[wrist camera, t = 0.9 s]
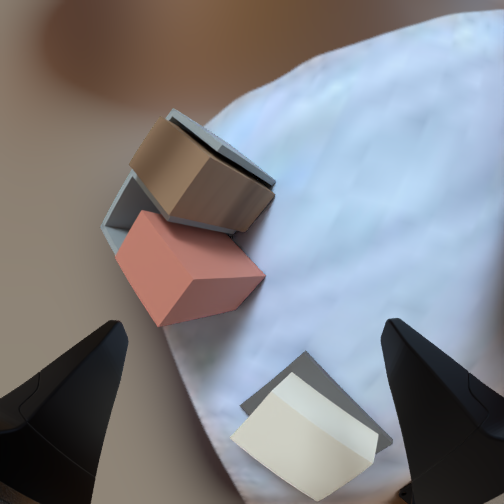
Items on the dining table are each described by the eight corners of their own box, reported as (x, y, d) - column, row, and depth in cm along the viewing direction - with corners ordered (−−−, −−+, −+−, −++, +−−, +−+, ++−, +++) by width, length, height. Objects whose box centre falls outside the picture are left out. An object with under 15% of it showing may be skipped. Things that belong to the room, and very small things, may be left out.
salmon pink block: (265, 275, 22) (193, 279, 14) (235, 309, 24) (158, 327, 16) (220, 227, 25) (141, 210, 17) (194, 260, 26) (114, 257, 18)
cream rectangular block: (378, 434, 17) (373, 463, 13) (330, 473, 18) (317, 501, 14) (291, 371, 20) (271, 391, 17) (253, 417, 22) (229, 437, 18)
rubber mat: (392, 439, 17) (392, 443, 16) (320, 480, 19) (319, 484, 18) (305, 350, 21) (303, 352, 20) (243, 402, 23) (239, 405, 22)
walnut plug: (275, 194, 22) (209, 156, 14) (244, 232, 24) (168, 215, 16) (229, 156, 25) (160, 116, 17) (203, 191, 26) (128, 164, 18)
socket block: (275, 181, 23) (222, 144, 15) (198, 278, 26) (130, 280, 18) (231, 145, 25) (173, 108, 18) (165, 235, 28) (100, 227, 21)
